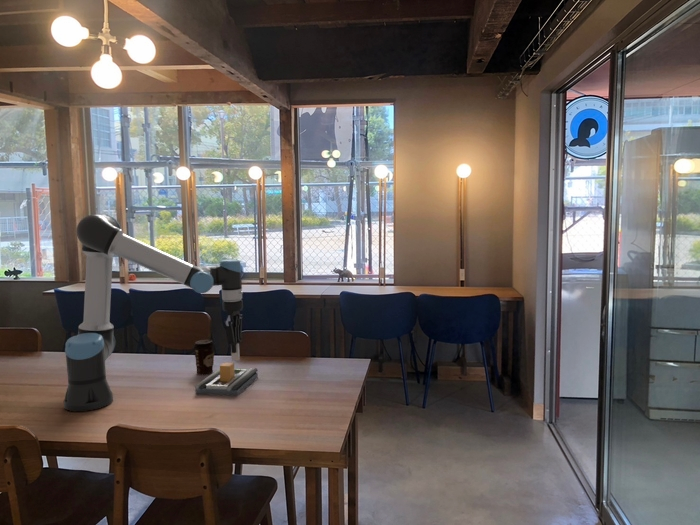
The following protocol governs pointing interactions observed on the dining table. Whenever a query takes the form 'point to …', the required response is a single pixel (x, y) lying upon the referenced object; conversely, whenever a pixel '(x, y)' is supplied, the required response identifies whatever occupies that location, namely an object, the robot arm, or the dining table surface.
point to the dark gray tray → (234, 384)
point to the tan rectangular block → (227, 372)
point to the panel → (226, 385)
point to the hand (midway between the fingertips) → (235, 360)
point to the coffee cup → (204, 356)
